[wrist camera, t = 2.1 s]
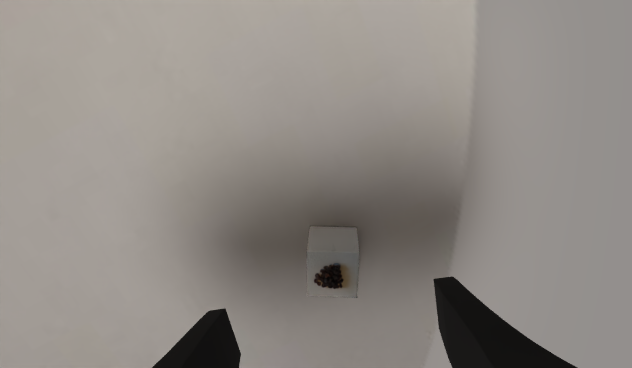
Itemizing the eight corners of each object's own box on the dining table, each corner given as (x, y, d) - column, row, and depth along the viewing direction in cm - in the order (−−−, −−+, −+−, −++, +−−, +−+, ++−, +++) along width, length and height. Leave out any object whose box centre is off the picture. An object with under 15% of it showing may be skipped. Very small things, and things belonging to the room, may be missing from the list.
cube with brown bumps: (355, 267, 17) (357, 302, 15) (310, 266, 18) (305, 300, 15) (356, 226, 17) (359, 256, 14) (309, 225, 17) (305, 254, 14)
